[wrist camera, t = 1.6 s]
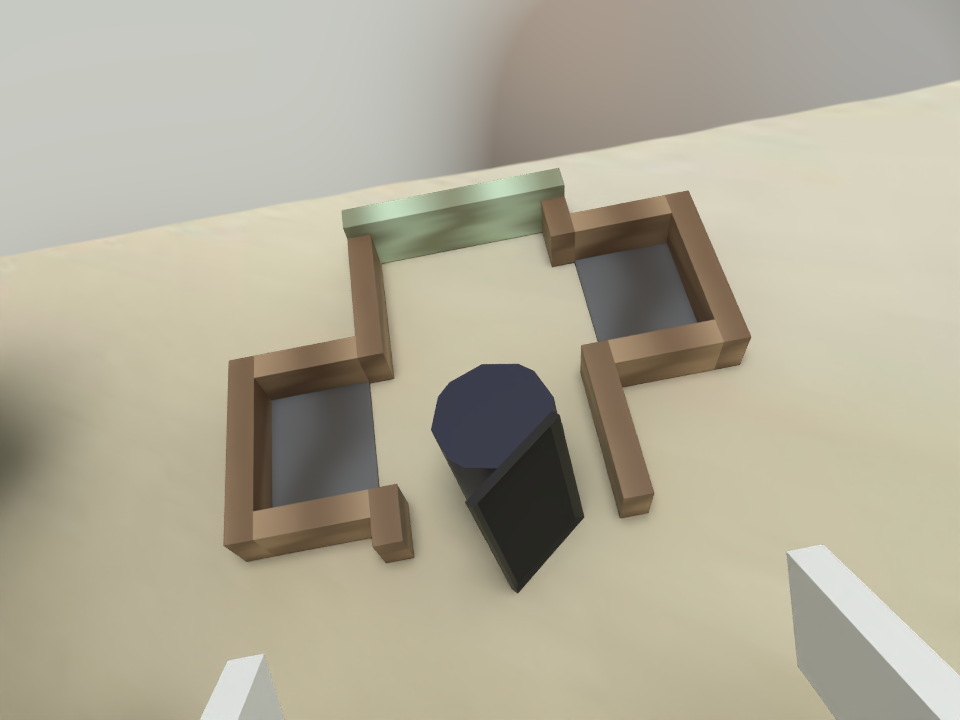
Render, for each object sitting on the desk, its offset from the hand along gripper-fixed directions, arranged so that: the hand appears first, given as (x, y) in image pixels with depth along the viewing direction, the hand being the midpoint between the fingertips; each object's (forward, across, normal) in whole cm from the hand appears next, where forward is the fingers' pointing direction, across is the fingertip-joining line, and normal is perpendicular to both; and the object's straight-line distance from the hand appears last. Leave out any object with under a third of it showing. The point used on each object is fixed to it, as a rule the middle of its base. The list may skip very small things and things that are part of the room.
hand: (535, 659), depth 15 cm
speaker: (+23, 0, -7) cm, 24 cm away
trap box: (+28, 0, -2) cm, 28 cm away
